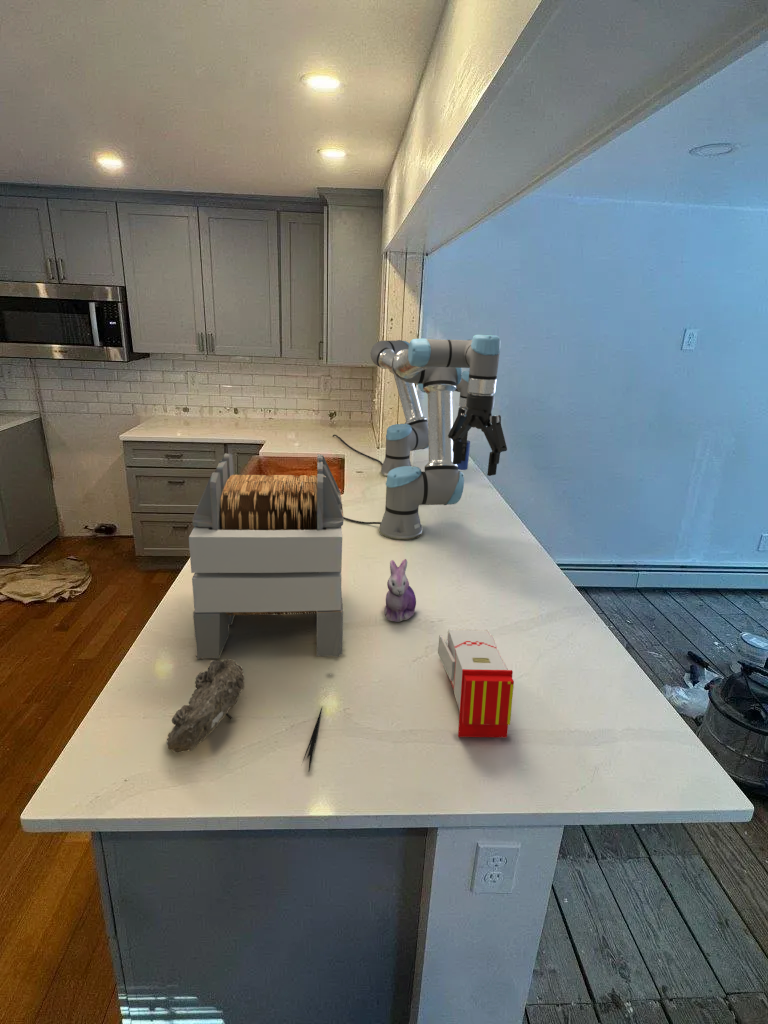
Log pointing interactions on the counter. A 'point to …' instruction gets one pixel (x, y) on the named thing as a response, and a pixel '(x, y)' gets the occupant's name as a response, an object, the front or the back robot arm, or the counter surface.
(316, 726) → the feather
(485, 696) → the toy
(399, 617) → the figurine
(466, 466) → the can
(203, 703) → the fossil
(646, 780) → the counter surface
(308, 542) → the transformer
